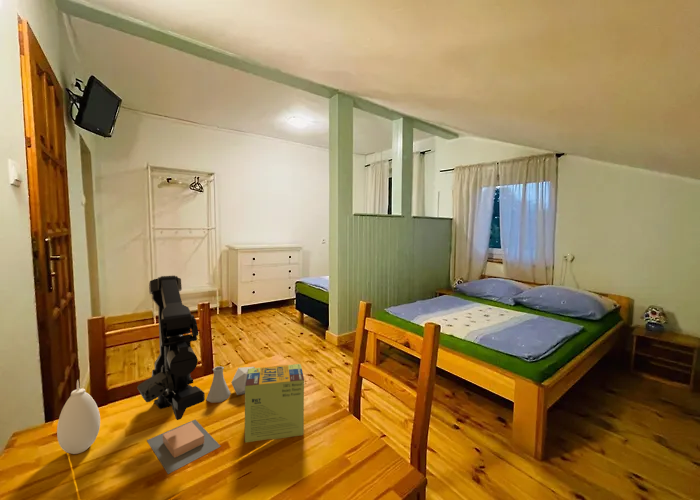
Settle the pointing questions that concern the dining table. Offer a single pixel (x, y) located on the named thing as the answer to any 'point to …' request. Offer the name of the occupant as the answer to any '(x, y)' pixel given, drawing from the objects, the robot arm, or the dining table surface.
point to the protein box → (274, 402)
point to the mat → (182, 460)
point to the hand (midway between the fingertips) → (178, 419)
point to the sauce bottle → (78, 422)
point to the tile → (183, 439)
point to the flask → (218, 387)
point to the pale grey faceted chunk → (240, 380)
